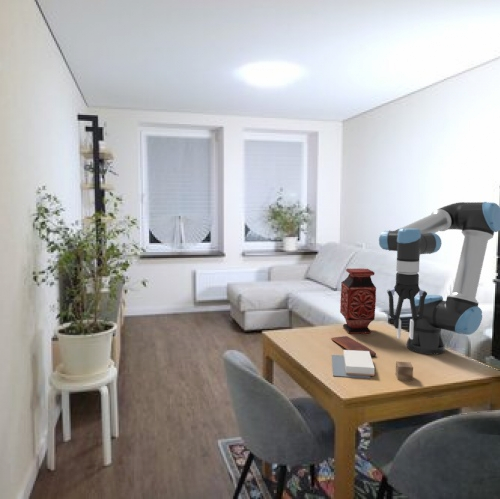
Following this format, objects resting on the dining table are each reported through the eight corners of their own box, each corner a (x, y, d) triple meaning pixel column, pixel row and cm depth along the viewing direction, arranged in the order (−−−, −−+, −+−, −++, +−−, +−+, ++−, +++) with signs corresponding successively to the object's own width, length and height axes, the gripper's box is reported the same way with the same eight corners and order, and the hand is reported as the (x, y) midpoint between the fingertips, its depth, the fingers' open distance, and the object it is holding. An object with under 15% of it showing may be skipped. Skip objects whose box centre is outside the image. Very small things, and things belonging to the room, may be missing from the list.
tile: (369, 351, 174) (343, 349, 176) (374, 367, 157) (346, 366, 158) (368, 358, 175) (343, 357, 176) (374, 375, 157) (345, 374, 159)
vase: (375, 334, 208) (377, 272, 205) (346, 334, 207) (348, 272, 204) (366, 326, 222) (367, 267, 218) (339, 326, 221) (340, 268, 218)
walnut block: (409, 375, 159) (410, 362, 158) (412, 381, 154) (413, 367, 153) (395, 374, 159) (395, 361, 159) (397, 380, 154) (398, 366, 154)
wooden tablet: (377, 356, 178) (377, 352, 177) (355, 357, 175) (355, 353, 175) (349, 337, 203) (349, 333, 203) (329, 338, 201) (329, 335, 201)
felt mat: (364, 357, 177) (364, 356, 177) (370, 378, 155) (370, 377, 155) (331, 355, 179) (331, 354, 179) (333, 376, 157) (333, 375, 157)
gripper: (429, 271, 155) (426, 335, 157) (381, 270, 158) (379, 333, 160) (435, 274, 148) (432, 342, 150) (384, 273, 150) (382, 339, 153)
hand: (404, 337), depth 155 cm, fingers open, 3 cm apart
